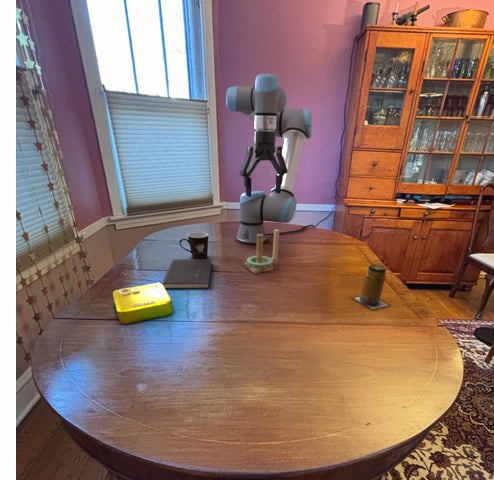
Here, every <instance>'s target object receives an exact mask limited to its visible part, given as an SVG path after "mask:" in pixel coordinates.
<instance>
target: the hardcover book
mask: <svg viewBox="0 0 494 480" xmlns="http://www.w3.org/2000/svg"><path fill="white" fill-rule="evenodd" d="M212 260H213V258H211V259H210V258H207V259H193V258H192V259H189V258H187V259H185V258H184V259H183V258H182V259H177V258H176V259H172V260H171V263H170V265H169V267H168V269H167V271H166V274H165V276H164V278H163V280H162V282H161V284H162V285H163V286H164V288H165V290H209V289H210V283H211V275H212V267H213V264H212V262H213V261H212Z"/></svg>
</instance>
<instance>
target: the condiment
mask: <svg viewBox="0 0 494 480" xmlns="http://www.w3.org/2000/svg"><path fill="white" fill-rule="evenodd" d="M386 272H387V267H386V266H385V265H382V264H376V263H375V264H370V265H368V269H367V272H366V273H365V276H364V278H363V279H364V280H363V282H362V288H361V291H360V292H361V293H360V296H356V297H353V299H354V300H356V301H357V302H359V303H361V304H362V305H364V306H366V307H367V308H370V309H371V310H375V309H380V308H383V307H388V306H389V304H388V303H385V302H384V301H382V300H380V299H381V297H382V292H383V288H384V285H385V281H386Z"/></svg>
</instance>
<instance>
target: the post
mask: <svg viewBox="0 0 494 480" xmlns="http://www.w3.org/2000/svg"><path fill="white" fill-rule="evenodd" d="M263 247H264V243H263V234H257V244H256V248H255V249H256V252H255V253H256V254H255V256H256V261H254V263H267V262H264V261H262V256H263ZM243 266H244V267H245V268H246V269H248V270H249V271H250V272H252V273H253V274H259V273H264V272H269V271H270V272H271V271H274V270H275V266H274V265H273V266H272V267H270V268H266V269H254V268H250V267H249V266H247V261H244V262H243Z"/></svg>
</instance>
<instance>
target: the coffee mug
mask: <svg viewBox="0 0 494 480" xmlns="http://www.w3.org/2000/svg"><path fill="white" fill-rule="evenodd" d="M209 235H210V234H209V233H208V232H204V231H193V232H189V233H188V234H187V238H181V239H180V240H179V244H178V245H179V246H180V248H182V249H183V250H184V251H187V252H189V253H190V254H191V257H192V259H208V255H209V253H208V252H209ZM183 241H186V242H187V243H188V244H189V248H190V250H189V249H188V248H185V247H184V246H183V245H182V242H183Z"/></svg>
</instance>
